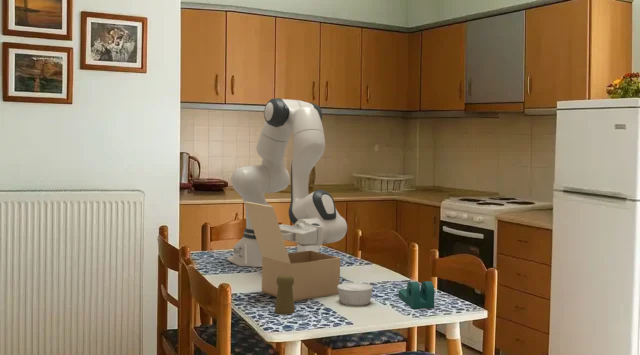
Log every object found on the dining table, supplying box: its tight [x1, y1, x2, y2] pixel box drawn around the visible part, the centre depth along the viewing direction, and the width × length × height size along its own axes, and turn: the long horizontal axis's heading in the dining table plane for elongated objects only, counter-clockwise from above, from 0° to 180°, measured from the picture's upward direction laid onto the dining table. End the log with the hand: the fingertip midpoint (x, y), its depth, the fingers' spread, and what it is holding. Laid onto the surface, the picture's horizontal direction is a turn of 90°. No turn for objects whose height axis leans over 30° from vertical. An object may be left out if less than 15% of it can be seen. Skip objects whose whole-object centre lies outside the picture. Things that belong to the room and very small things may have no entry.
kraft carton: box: [261, 251, 341, 303], centre depth 234 cm, size 16×20×12 cm
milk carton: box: [296, 243, 320, 253], centre depth 309 cm, size 7×7×19 cm
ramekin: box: [337, 281, 374, 307], centre depth 224 cm, size 11×11×5 cm
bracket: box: [398, 280, 435, 310], centre depth 227 cm, size 18×7×8 cm, turn 10°
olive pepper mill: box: [274, 274, 296, 315], centre depth 211 cm, size 6×6×11 cm
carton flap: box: [244, 202, 290, 263], centre depth 225 cm, size 15×19×1 cm
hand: (271, 235), depth 225 cm, fingers open, 6 cm apart
